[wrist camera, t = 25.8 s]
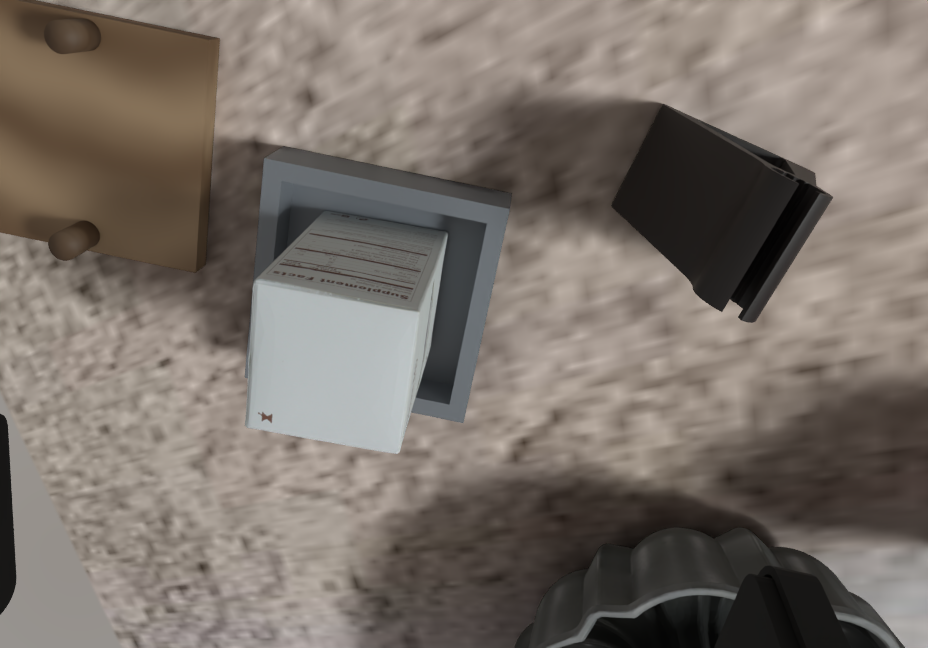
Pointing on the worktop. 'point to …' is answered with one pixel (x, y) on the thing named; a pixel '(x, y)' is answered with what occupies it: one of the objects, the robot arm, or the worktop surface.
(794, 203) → the phone stand
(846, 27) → the worktop surface
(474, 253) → the tray
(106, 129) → the peg stand
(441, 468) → the worktop surface
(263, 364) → the supplement box
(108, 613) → the worktop surface
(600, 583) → the bundt pan
